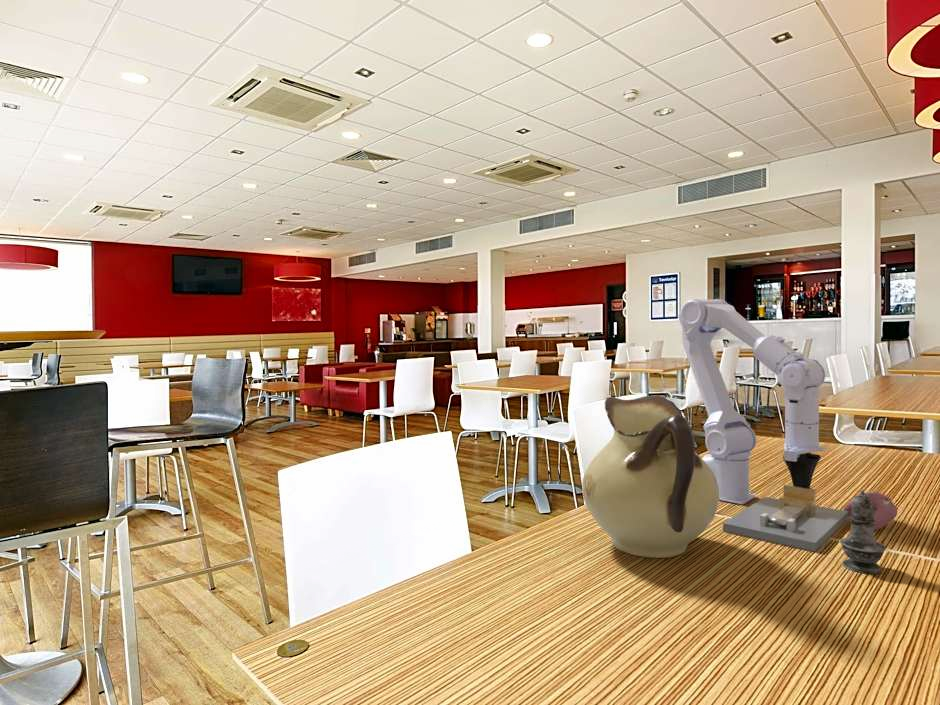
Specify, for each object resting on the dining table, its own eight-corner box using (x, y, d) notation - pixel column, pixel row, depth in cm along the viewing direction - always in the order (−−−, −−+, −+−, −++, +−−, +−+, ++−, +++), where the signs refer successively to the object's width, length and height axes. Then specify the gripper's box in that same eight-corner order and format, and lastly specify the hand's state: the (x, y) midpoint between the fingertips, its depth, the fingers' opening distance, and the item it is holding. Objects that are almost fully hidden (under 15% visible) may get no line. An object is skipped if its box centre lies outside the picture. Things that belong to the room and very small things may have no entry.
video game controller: (887, 541, 106) (907, 507, 105) (862, 529, 106) (882, 495, 105) (862, 523, 115) (880, 492, 114) (839, 512, 116) (857, 480, 115)
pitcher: (626, 515, 118) (624, 390, 117) (748, 545, 101) (748, 400, 100) (557, 547, 102) (555, 404, 101) (689, 589, 85) (688, 417, 84)
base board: (723, 531, 108) (722, 513, 108) (765, 503, 124) (765, 488, 123) (815, 551, 97) (815, 532, 97) (848, 519, 113) (848, 502, 113)
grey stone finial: (878, 562, 93) (878, 486, 92) (891, 577, 87) (891, 496, 87) (835, 557, 95) (835, 483, 94) (845, 572, 89) (845, 493, 89)
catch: (779, 510, 114) (779, 487, 114) (784, 506, 116) (784, 484, 116) (811, 516, 110) (811, 492, 110) (815, 512, 112) (815, 489, 112)
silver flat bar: (767, 523, 106) (767, 517, 106) (789, 507, 115) (789, 502, 115) (785, 527, 104) (785, 521, 104) (807, 510, 112) (807, 505, 112)
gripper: (813, 429, 106) (813, 503, 107) (835, 419, 117) (835, 487, 117) (772, 425, 111) (772, 496, 112) (796, 416, 122) (796, 481, 122)
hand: (801, 491), depth 115 cm, fingers closed
